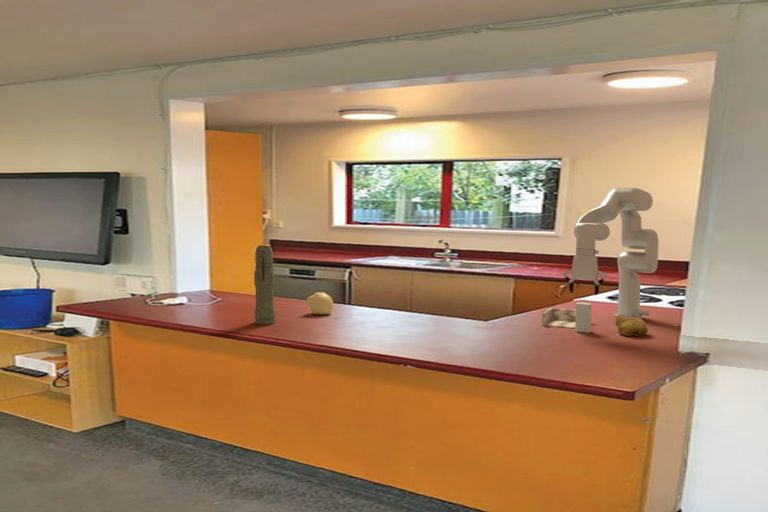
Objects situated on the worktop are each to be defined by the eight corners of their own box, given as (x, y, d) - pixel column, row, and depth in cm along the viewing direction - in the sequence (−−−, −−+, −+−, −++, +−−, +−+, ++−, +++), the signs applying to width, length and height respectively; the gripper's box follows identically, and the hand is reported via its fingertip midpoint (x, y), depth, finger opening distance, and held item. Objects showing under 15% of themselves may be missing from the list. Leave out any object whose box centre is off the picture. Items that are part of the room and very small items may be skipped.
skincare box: (591, 331, 236) (591, 303, 235) (590, 333, 232) (591, 304, 231) (576, 329, 239) (576, 302, 238) (574, 331, 235) (575, 303, 234)
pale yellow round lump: (319, 311, 282) (319, 290, 281) (337, 313, 275) (337, 292, 274) (303, 314, 273) (303, 292, 272) (322, 317, 266) (322, 294, 265)
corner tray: (590, 323, 253) (590, 311, 253) (584, 329, 239) (584, 316, 239) (549, 319, 262) (550, 307, 261) (542, 325, 248) (542, 313, 247)
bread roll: (642, 332, 235) (643, 313, 234) (654, 337, 225) (655, 317, 224) (612, 332, 234) (613, 313, 234) (623, 337, 225) (623, 318, 224)
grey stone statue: (252, 325, 245) (251, 246, 242) (257, 320, 257) (256, 245, 254) (272, 325, 246) (271, 246, 243) (276, 320, 257) (275, 245, 255)
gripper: (608, 253, 232) (606, 294, 233) (565, 251, 240) (564, 291, 241) (606, 254, 226) (604, 296, 227) (562, 252, 234) (560, 292, 235)
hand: (583, 293), depth 234 cm, fingers open, 9 cm apart
